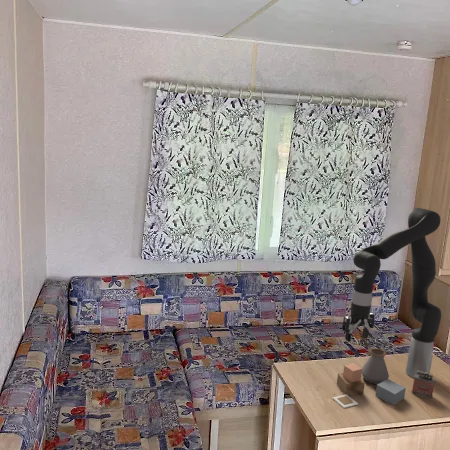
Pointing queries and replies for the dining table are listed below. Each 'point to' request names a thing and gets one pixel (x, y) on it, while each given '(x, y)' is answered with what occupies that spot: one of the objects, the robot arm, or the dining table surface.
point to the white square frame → (345, 401)
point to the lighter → (423, 384)
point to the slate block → (390, 391)
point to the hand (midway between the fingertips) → (356, 339)
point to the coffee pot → (375, 365)
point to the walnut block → (350, 385)
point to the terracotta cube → (352, 372)
